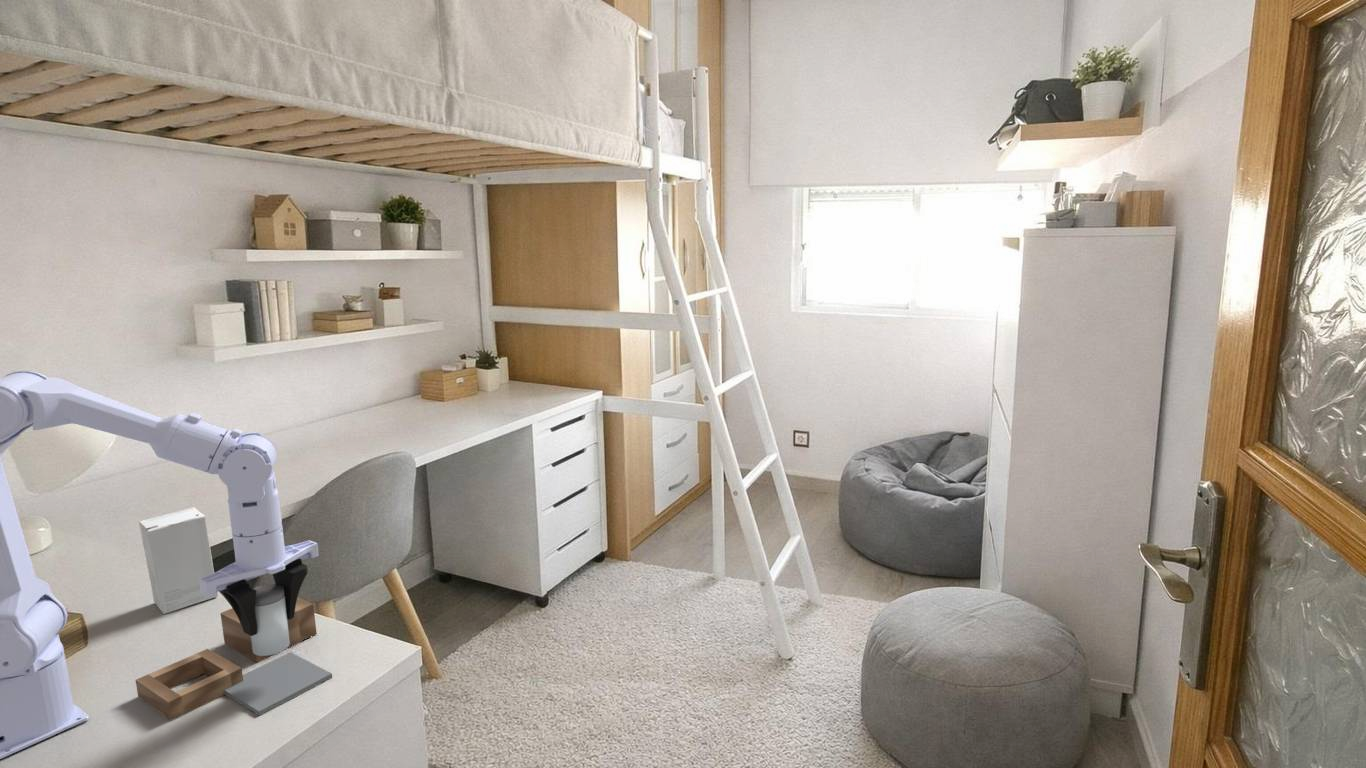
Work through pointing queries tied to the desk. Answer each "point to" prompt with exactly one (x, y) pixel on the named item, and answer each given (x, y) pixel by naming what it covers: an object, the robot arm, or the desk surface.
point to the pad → (276, 683)
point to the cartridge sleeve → (178, 703)
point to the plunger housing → (297, 627)
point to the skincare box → (177, 558)
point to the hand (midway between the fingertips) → (269, 624)
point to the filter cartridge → (270, 621)
